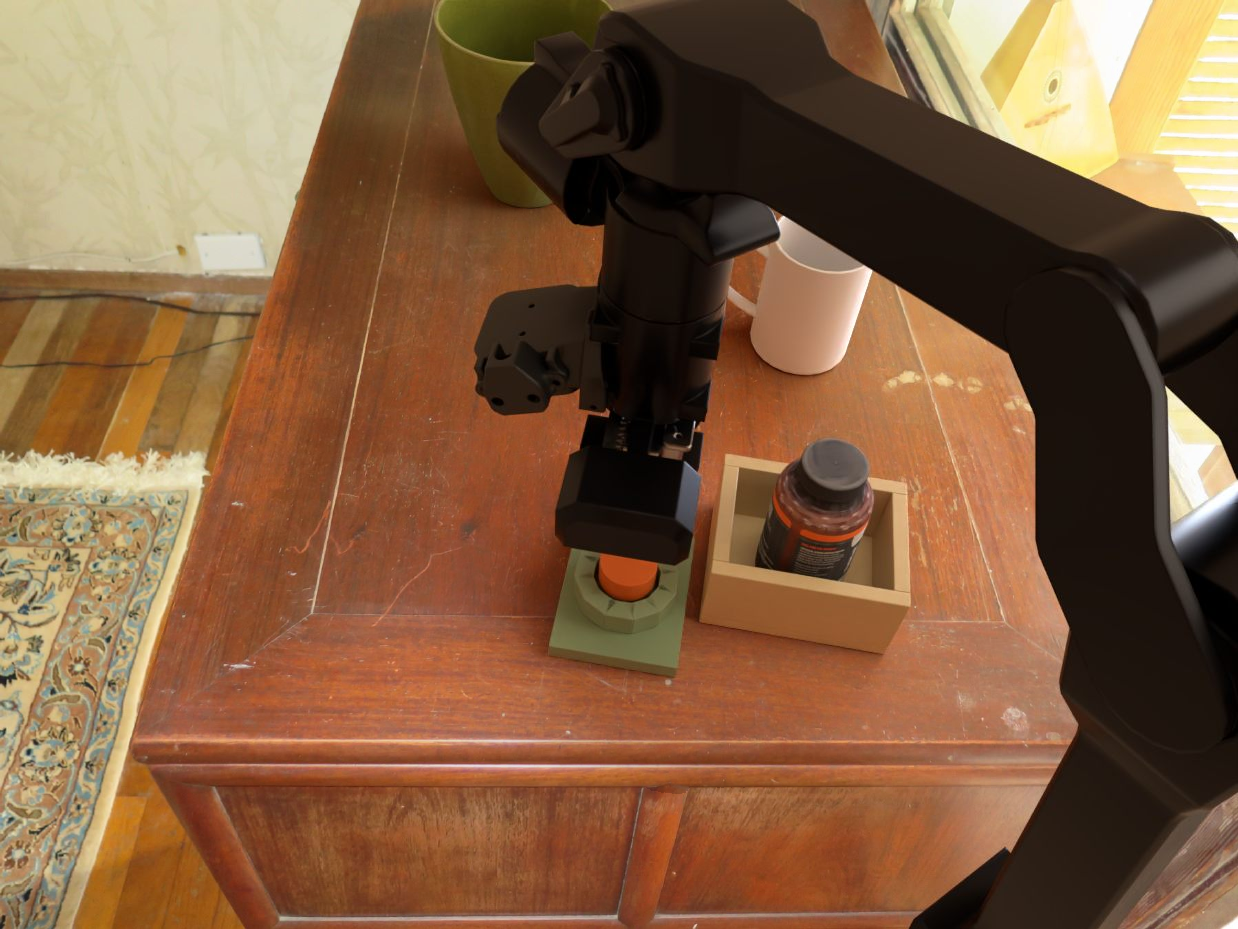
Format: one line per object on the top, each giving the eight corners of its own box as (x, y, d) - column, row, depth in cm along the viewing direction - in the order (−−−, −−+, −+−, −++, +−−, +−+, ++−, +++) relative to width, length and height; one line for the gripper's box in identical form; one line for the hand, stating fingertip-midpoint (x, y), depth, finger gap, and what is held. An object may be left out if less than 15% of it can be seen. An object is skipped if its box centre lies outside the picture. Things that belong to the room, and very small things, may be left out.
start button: (650, 606, 61) (653, 590, 60) (593, 596, 61) (595, 580, 60) (658, 558, 63) (661, 543, 62) (603, 549, 64) (605, 533, 62)
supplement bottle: (859, 593, 65) (908, 487, 56) (780, 622, 63) (819, 517, 54) (812, 524, 68) (852, 414, 60) (736, 550, 66) (766, 440, 58)
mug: (844, 317, 83) (877, 213, 75) (846, 383, 78) (881, 279, 70) (701, 297, 84) (718, 192, 76) (694, 362, 79) (711, 257, 71)
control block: (675, 677, 61) (680, 654, 59) (548, 655, 61) (548, 631, 59) (693, 547, 67) (698, 521, 65) (578, 527, 68) (579, 501, 66)
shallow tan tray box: (884, 654, 63) (911, 607, 59) (698, 622, 64) (710, 572, 59) (883, 534, 69) (907, 482, 65) (713, 506, 70) (725, 453, 65)
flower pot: (435, 146, 96) (421, -22, 83) (585, 132, 99) (592, -31, 86) (461, 242, 87) (449, 70, 74) (625, 223, 90) (639, 55, 77)
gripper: (532, 140, 50) (533, 359, 62) (428, 402, 38) (454, 611, 50) (749, 172, 50) (708, 388, 62) (712, 448, 38) (670, 649, 50)
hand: (637, 495), depth 56 cm, fingers closed
